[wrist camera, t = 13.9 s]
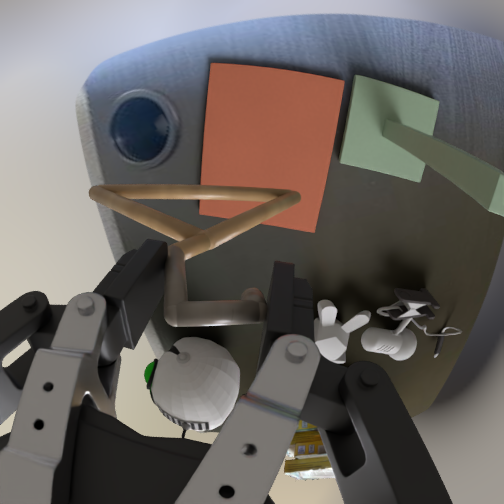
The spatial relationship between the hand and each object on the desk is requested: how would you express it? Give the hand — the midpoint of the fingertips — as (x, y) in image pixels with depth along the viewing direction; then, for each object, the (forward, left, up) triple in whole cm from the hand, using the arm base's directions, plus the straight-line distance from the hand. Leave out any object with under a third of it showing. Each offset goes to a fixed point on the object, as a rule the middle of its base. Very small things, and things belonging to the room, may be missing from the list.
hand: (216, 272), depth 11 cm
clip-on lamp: (+21, +26, -24) cm, 42 cm away
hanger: (0, -3, -8) cm, 9 cm away
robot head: (+34, -6, -24) cm, 42 cm away
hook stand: (-5, +17, -24) cm, 30 cm away
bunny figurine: (+25, +12, -24) cm, 37 cm away
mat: (0, 0, -24) cm, 24 cm away
